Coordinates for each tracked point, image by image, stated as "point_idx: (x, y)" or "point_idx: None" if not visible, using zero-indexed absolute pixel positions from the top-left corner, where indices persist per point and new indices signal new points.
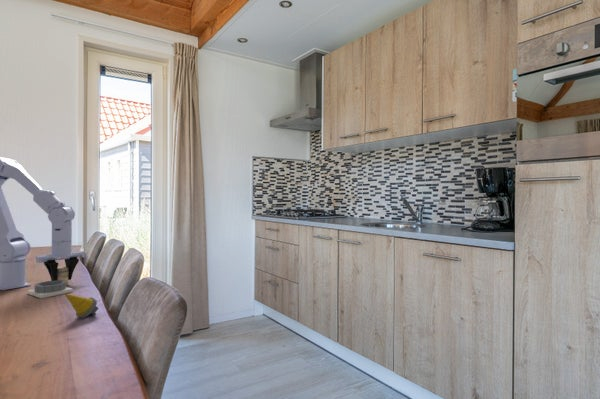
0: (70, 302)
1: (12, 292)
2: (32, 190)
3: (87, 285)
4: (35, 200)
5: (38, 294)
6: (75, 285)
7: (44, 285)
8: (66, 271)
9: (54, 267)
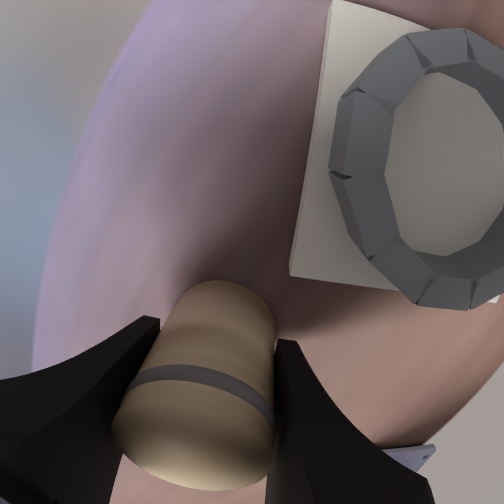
0: None
1: (460, 389)
2: None
3: (107, 121)
4: None
5: None
6: (158, 219)
7: (451, 267)
8: (170, 370)
9: (350, 457)
